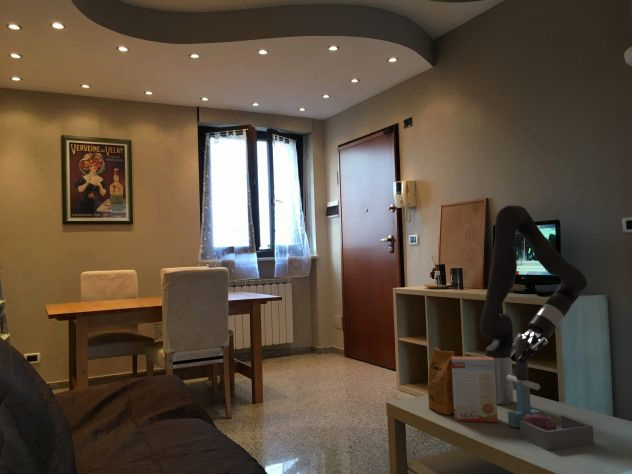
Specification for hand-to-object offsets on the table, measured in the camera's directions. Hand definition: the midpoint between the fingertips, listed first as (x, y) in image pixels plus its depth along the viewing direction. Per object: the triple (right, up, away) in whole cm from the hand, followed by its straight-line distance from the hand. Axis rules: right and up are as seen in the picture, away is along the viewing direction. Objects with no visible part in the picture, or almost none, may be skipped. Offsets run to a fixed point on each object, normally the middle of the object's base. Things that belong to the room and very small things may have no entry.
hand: (516, 360), depth 162 cm
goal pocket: (+6, -20, -14) cm, 25 cm away
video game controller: (+4, -21, -7) cm, 22 cm away
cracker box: (-11, -22, +7) cm, 26 cm away
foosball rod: (+2, -21, -1) cm, 21 cm away
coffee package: (-18, -23, +19) cm, 35 cm away
